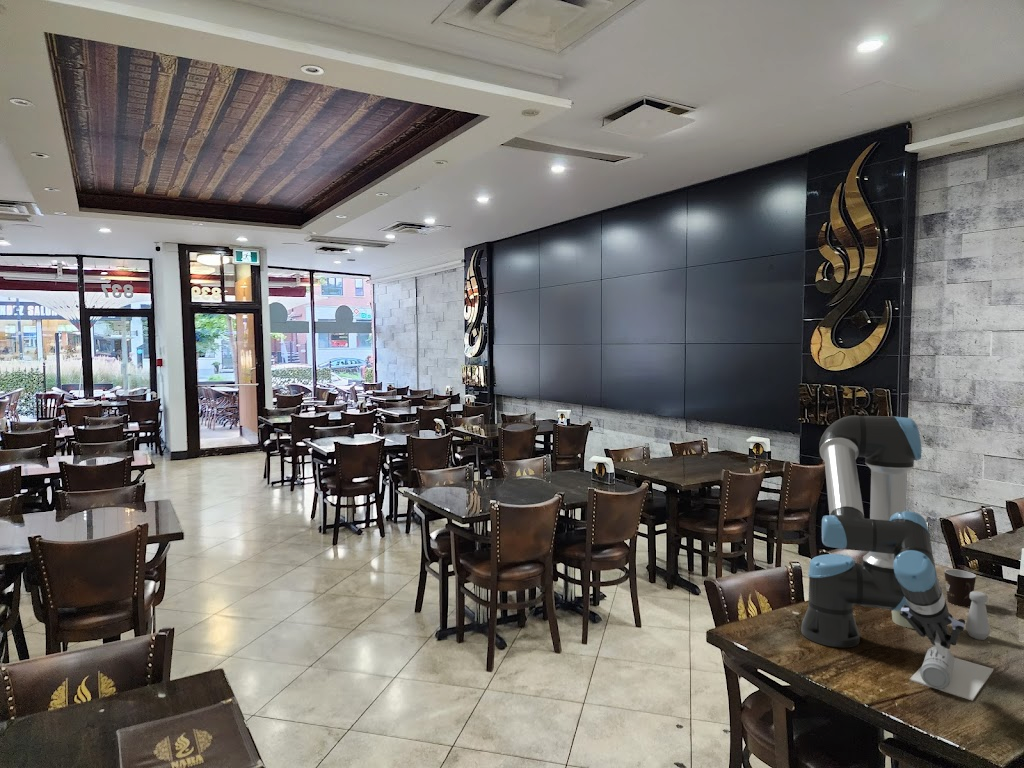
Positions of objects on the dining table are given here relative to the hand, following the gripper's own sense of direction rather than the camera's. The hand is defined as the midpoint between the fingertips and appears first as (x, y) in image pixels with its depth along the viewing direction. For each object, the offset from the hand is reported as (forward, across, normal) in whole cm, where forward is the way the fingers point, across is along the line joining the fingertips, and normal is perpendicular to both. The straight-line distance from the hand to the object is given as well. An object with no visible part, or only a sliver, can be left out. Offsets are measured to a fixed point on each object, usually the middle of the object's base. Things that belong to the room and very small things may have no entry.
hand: (943, 650), depth 155 cm
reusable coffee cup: (+33, -17, +20) cm, 42 cm away
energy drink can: (+1, -1, -7) cm, 7 cm away
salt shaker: (+36, -1, +22) cm, 42 cm away
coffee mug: (+53, -11, +40) cm, 68 cm away
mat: (+12, 0, 0) cm, 12 cm away
